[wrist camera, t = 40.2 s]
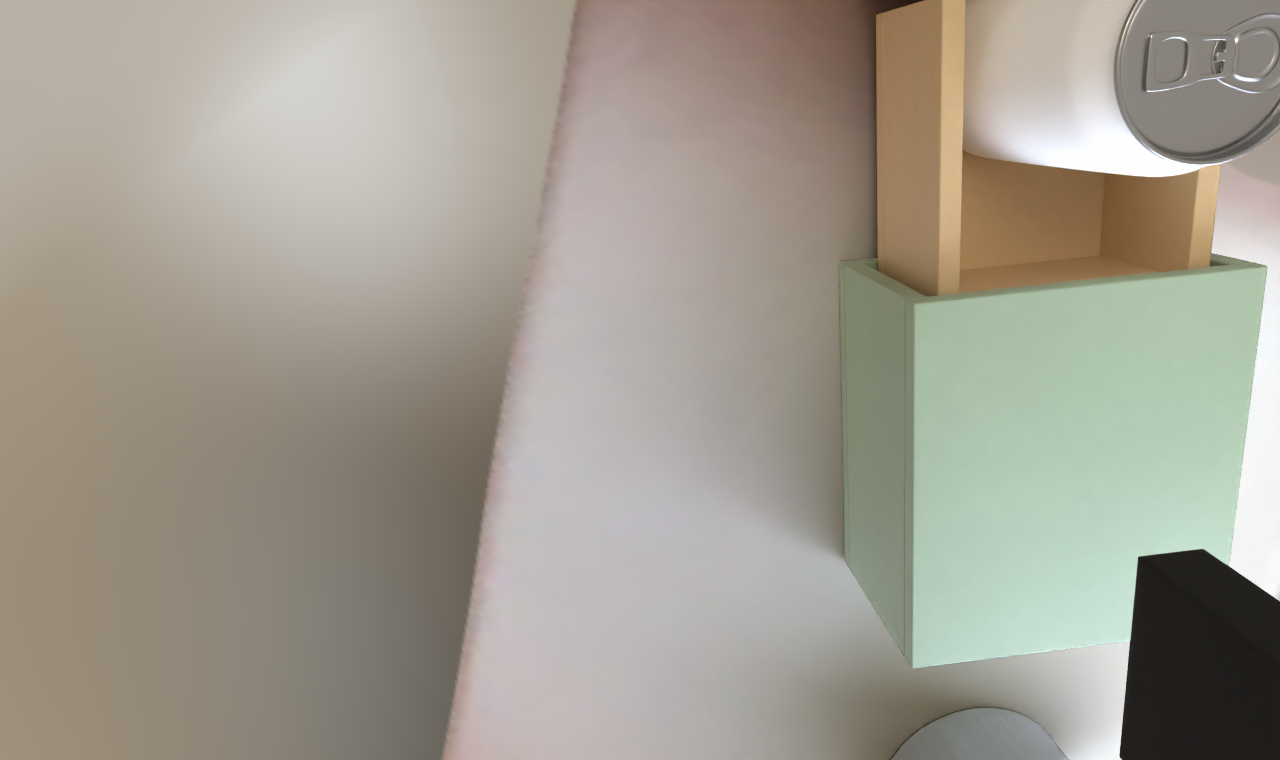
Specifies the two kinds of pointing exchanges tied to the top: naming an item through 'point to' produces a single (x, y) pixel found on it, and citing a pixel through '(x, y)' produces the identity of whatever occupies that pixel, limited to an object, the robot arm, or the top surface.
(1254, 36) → the can
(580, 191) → the top surface
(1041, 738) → the coffee mug
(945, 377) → the cabinet
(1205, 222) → the drawer
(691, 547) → the top surface
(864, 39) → the top surface
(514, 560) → the top surface
